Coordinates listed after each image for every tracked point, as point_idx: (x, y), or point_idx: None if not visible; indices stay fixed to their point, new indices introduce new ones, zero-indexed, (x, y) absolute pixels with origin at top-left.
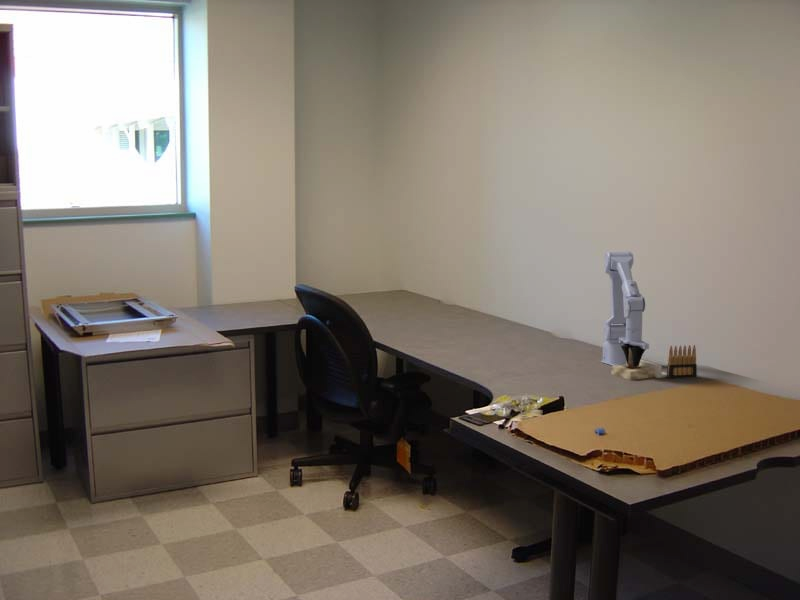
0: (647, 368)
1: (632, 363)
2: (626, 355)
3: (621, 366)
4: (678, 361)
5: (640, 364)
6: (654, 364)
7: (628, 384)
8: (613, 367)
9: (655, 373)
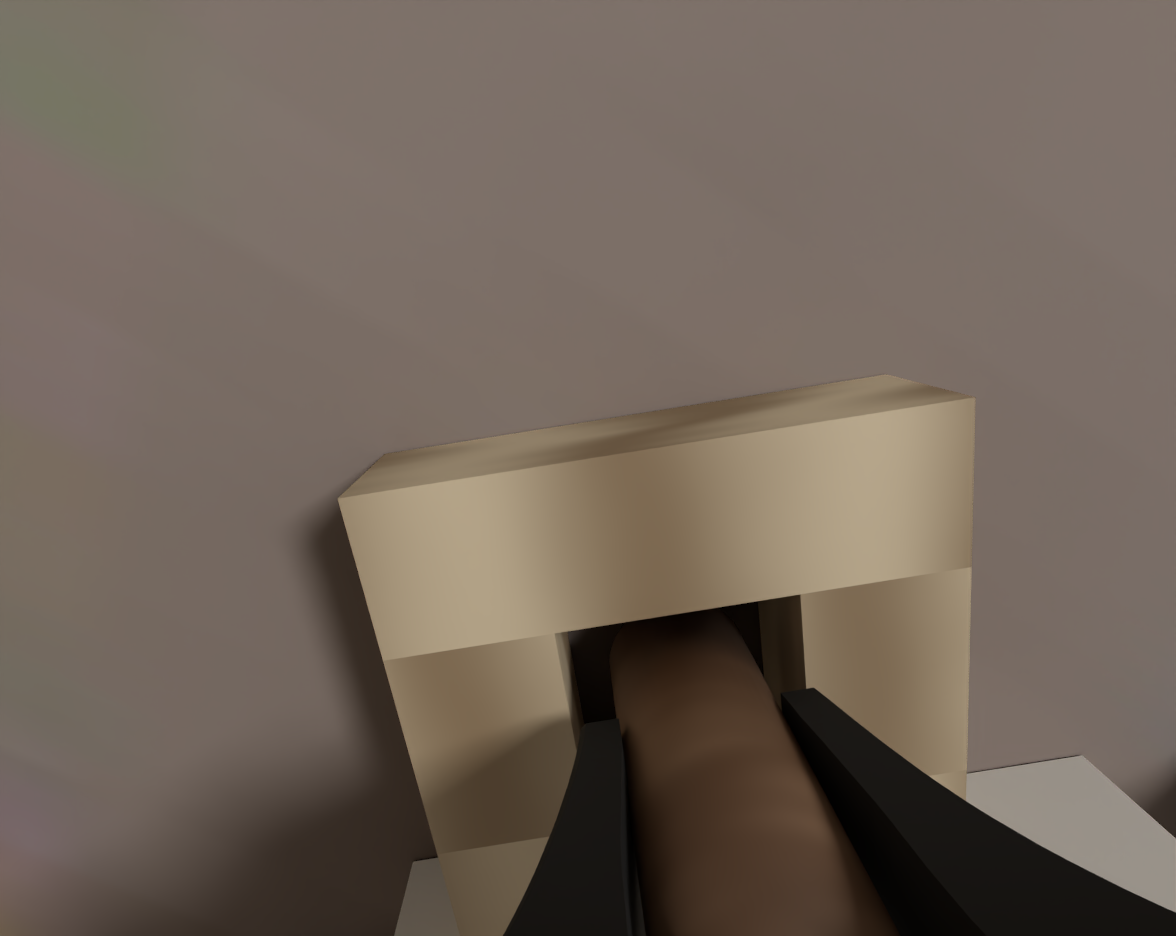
0: None
1: (642, 743)
2: (903, 819)
3: (854, 570)
4: None
5: None
6: None
7: (91, 258)
8: (899, 406)
9: None
